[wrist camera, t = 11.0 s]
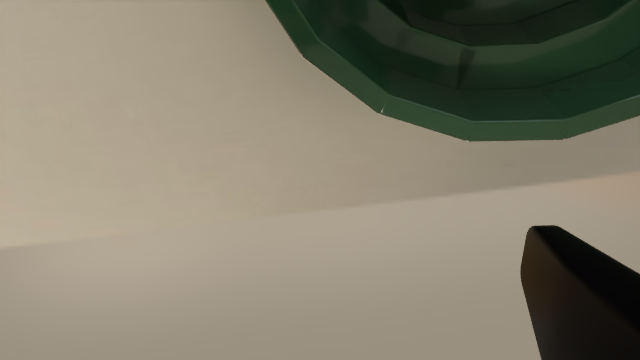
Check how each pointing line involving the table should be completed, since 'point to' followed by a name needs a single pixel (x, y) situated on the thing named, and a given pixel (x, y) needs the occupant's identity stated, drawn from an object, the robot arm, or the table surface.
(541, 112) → the bowl
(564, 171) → the table surface
